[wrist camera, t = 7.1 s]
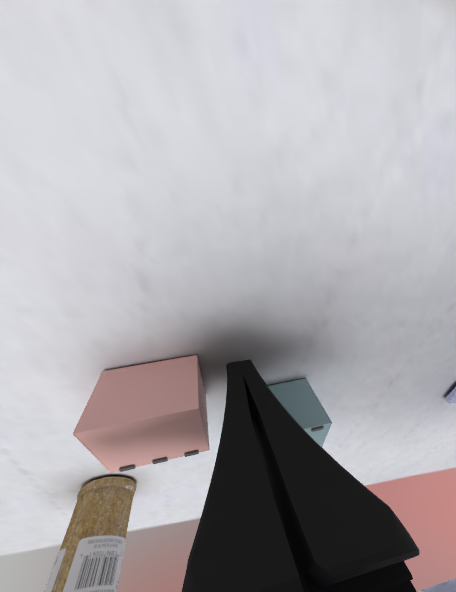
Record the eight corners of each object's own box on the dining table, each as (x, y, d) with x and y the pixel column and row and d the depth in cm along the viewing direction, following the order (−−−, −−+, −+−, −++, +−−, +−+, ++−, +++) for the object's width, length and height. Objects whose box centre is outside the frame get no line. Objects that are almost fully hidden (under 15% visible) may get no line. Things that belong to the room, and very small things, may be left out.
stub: (196, 354, 11) (198, 410, 8) (205, 397, 13) (209, 452, 10) (102, 371, 10) (71, 436, 7) (127, 412, 12) (110, 475, 10)
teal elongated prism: (305, 378, 14) (333, 424, 11) (291, 442, 19) (307, 484, 16) (237, 391, 13) (249, 443, 11) (241, 454, 18) (250, 499, 16)
